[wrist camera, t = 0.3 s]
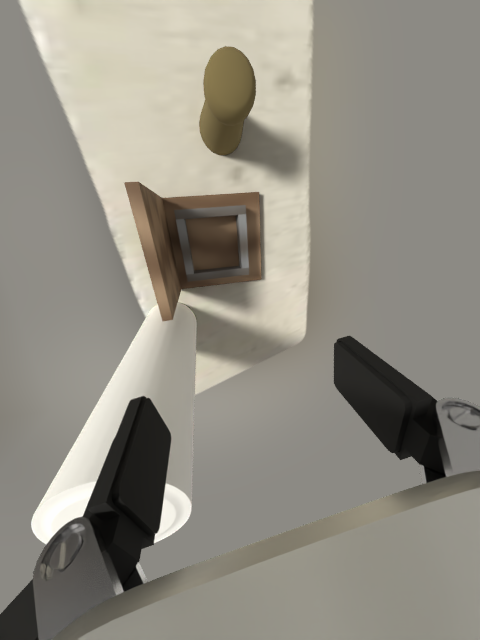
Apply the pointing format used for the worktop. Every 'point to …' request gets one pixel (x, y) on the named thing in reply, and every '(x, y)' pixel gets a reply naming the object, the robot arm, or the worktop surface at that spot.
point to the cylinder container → (101, 428)
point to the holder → (196, 240)
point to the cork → (226, 99)
